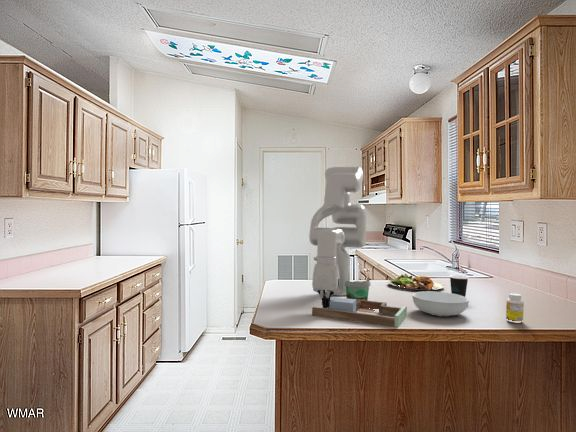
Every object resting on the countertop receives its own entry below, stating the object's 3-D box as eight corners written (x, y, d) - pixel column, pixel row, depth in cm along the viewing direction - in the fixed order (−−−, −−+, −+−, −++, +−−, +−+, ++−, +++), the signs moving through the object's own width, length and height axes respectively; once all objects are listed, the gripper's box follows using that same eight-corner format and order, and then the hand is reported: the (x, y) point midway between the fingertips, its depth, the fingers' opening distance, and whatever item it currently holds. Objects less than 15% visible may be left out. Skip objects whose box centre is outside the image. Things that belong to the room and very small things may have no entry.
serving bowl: (463, 324, 154) (463, 305, 153) (405, 315, 165) (405, 297, 165) (472, 312, 171) (473, 295, 171) (419, 305, 182) (420, 289, 182)
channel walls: (331, 303, 182) (332, 296, 182) (406, 312, 169) (406, 304, 169) (311, 315, 162) (312, 307, 162) (394, 326, 149) (394, 318, 149)
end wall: (403, 315, 163) (403, 305, 163) (406, 316, 163) (406, 305, 163) (394, 326, 149) (394, 315, 148) (398, 327, 148) (398, 315, 148)
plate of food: (378, 283, 233) (379, 272, 232) (423, 281, 240) (424, 270, 240) (406, 295, 206) (406, 283, 205) (455, 292, 213) (456, 280, 213)
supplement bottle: (508, 319, 161) (508, 292, 160) (524, 322, 157) (525, 294, 157) (504, 322, 156) (505, 294, 156) (521, 325, 153) (522, 296, 153)
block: (333, 311, 170) (333, 297, 170) (356, 313, 167) (356, 299, 167) (329, 315, 163) (329, 301, 163) (352, 317, 160) (353, 303, 160)
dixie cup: (466, 299, 193) (467, 275, 193) (469, 303, 185) (470, 278, 185) (447, 298, 195) (448, 274, 195) (449, 302, 187) (450, 277, 187)
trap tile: (361, 308, 175) (361, 307, 175) (381, 310, 171) (381, 310, 171) (358, 310, 170) (358, 310, 170) (378, 313, 167) (378, 312, 167)
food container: (352, 307, 176) (353, 283, 176) (344, 304, 182) (344, 280, 181) (376, 304, 182) (376, 281, 182) (367, 301, 187) (367, 278, 187)
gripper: (305, 260, 168) (304, 307, 168) (341, 263, 161) (340, 311, 161) (312, 258, 174) (312, 303, 175) (348, 261, 168) (347, 307, 168)
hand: (325, 307), depth 168 cm, fingers closed
